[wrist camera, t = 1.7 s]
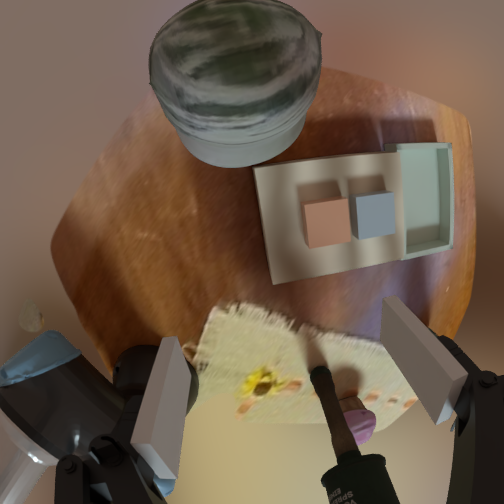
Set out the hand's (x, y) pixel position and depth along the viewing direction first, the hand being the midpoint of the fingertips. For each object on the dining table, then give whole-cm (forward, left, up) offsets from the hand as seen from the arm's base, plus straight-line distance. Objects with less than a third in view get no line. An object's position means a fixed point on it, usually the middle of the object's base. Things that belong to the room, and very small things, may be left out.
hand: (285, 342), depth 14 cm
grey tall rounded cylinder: (0, +13, -26) cm, 29 cm away
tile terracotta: (+8, 0, -21) cm, 22 cm away
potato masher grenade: (+7, -28, -26) cm, 39 cm away
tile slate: (+14, 0, -21) cm, 25 cm away
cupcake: (+12, -39, -26) cm, 48 cm away
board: (+10, 0, -26) cm, 28 cm away
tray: (+24, 0, -26) cm, 36 cm away
